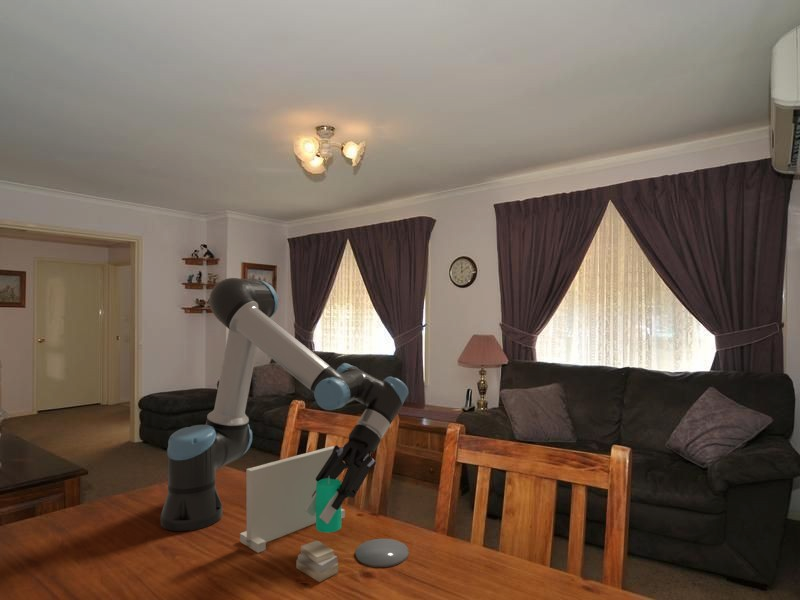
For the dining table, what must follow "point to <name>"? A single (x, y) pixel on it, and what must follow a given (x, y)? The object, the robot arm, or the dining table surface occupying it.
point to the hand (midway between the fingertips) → (316, 516)
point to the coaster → (381, 552)
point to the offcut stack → (317, 561)
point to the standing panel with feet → (281, 497)
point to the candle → (323, 495)
